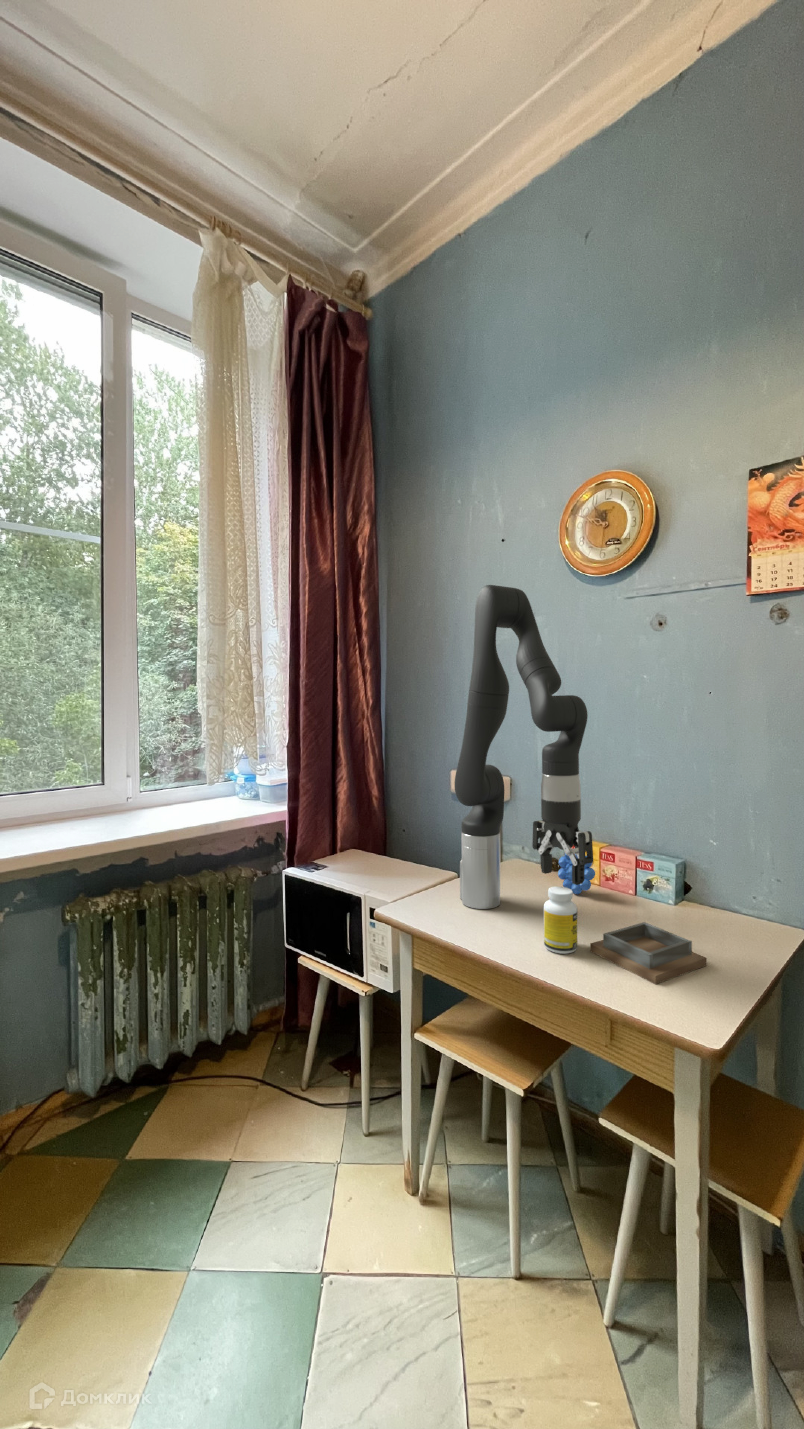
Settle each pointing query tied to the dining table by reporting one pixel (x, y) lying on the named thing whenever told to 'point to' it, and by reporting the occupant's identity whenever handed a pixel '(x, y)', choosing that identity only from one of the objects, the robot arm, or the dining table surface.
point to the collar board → (649, 952)
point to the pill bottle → (560, 921)
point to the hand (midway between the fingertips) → (561, 878)
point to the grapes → (567, 875)
